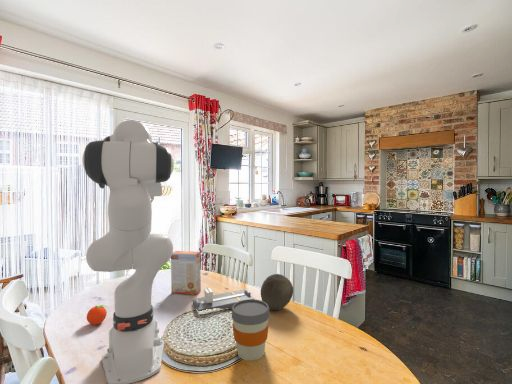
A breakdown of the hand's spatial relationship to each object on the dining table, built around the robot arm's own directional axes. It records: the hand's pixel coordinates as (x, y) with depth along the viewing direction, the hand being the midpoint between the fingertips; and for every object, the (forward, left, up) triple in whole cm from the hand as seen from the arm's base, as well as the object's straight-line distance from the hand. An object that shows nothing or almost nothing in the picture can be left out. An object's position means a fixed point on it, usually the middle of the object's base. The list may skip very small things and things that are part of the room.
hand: (138, 207), depth 116 cm
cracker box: (+12, -22, -46) cm, 53 cm away
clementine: (-4, +16, -46) cm, 49 cm away
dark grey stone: (-25, -55, -46) cm, 76 cm away
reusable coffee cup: (-48, -32, -46) cm, 74 cm away
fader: (-10, -28, -43) cm, 53 cm away
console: (-10, -35, -46) cm, 59 cm away
